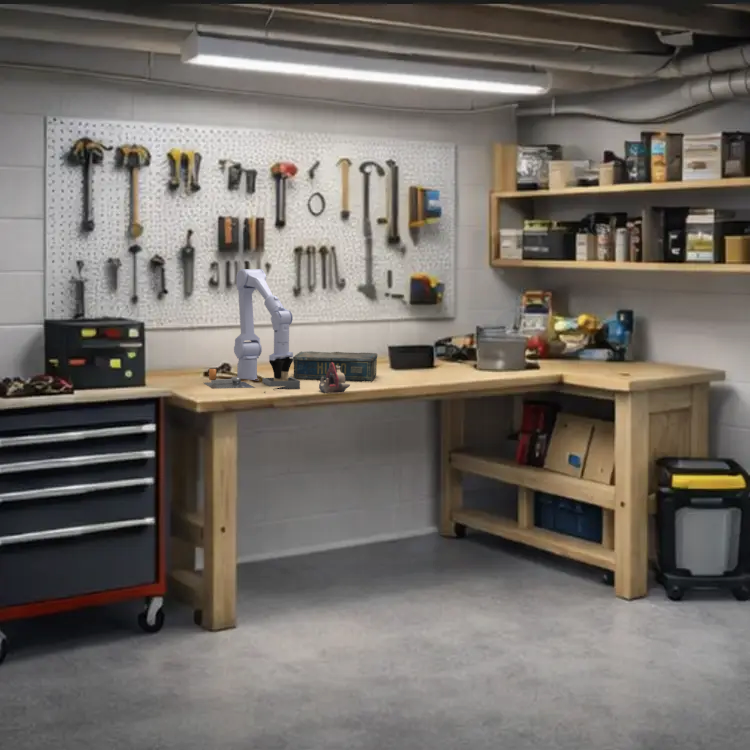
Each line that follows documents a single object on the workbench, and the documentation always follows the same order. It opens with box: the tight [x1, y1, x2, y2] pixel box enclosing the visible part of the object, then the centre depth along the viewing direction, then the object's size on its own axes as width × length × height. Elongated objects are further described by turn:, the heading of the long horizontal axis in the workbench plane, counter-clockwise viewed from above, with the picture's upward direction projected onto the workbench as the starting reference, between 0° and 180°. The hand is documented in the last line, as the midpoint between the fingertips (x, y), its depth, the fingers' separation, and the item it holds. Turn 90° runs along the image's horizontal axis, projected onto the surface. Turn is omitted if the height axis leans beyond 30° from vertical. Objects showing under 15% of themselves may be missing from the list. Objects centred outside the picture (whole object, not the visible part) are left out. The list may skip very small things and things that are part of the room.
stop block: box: [273, 371, 289, 381], centre depth 448 cm, size 4×4×5 cm
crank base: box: [202, 381, 256, 390], centre depth 442 cm, size 18×16×1 cm
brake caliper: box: [318, 362, 351, 395], centre depth 439 cm, size 11×11×12 cm
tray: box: [262, 376, 301, 390], centre depth 448 cm, size 12×12×3 cm
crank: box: [208, 368, 242, 383], centre depth 447 cm, size 12×4×5 cm, turn 109°
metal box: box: [292, 350, 378, 382], centre depth 481 cm, size 21×32×10 cm, turn 84°
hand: (281, 377), depth 448 cm, fingers open, 4 cm apart
